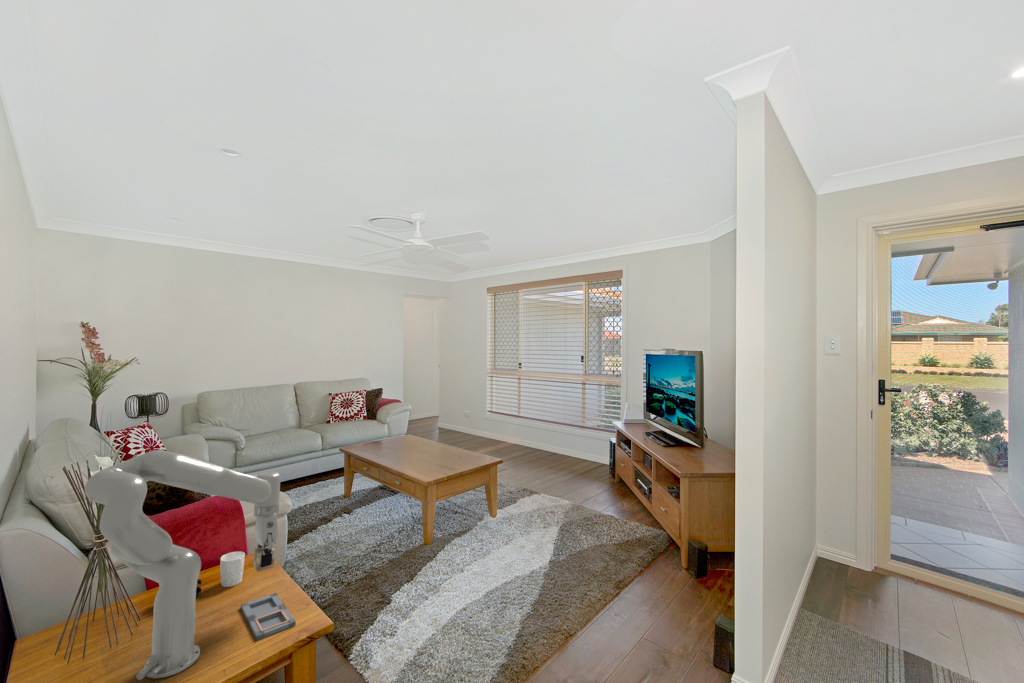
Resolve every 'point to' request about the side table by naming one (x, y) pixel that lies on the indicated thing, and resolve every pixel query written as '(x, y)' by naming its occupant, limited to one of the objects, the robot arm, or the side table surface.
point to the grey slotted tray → (267, 616)
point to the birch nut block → (258, 559)
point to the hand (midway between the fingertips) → (263, 562)
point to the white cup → (232, 568)
